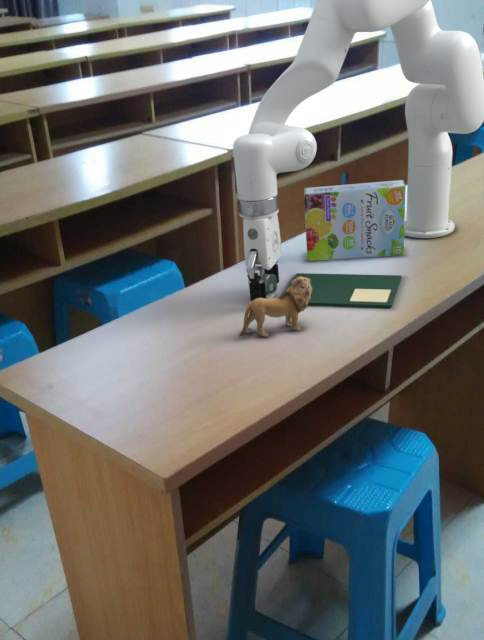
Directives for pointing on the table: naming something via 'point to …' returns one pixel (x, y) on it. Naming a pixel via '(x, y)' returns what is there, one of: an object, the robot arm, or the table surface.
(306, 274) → the desk mat
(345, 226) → the snack box
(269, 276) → the grooved metal pulley
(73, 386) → the table surface
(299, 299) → the lion figurine
